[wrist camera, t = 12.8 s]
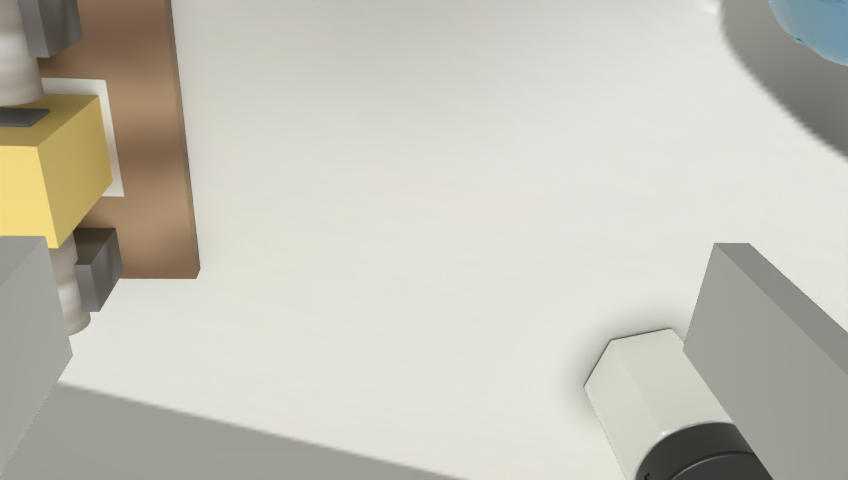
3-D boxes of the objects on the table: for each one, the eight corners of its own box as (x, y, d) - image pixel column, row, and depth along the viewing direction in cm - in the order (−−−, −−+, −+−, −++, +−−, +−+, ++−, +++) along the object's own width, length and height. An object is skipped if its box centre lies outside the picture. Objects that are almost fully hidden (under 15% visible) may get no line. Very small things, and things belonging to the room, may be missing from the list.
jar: (564, 370, 50) (620, 502, 39) (656, 307, 48) (742, 427, 37) (626, 434, 53) (693, 570, 43) (715, 377, 51) (808, 505, 41)
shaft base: (-109, -58, 33) (-210, -45, 27) (165, -43, 34) (126, -28, 28) (-14, 274, 42) (-75, 338, 36) (200, 275, 43) (176, 337, 37)
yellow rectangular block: (-1, 89, 35) (-90, 139, 28) (98, 92, 36) (35, 143, 29) (20, 181, 38) (-56, 249, 31) (113, 184, 38) (59, 251, 31)
